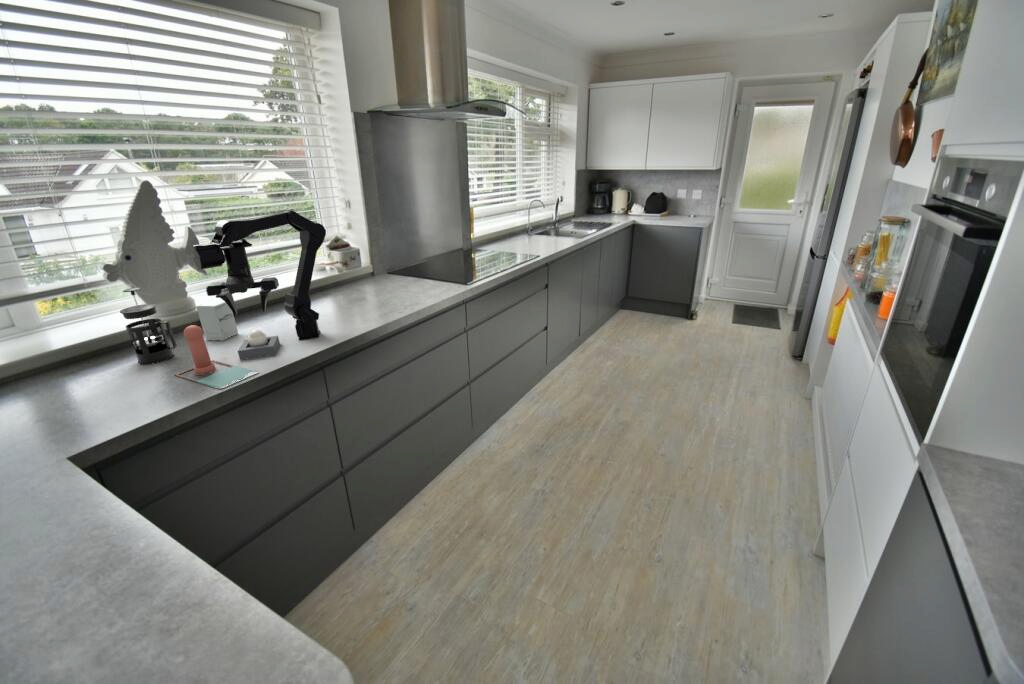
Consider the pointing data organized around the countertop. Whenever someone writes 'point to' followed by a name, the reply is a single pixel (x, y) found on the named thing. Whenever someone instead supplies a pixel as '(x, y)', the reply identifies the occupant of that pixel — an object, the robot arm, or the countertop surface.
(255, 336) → the cream white ball
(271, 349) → the box
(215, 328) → the supplement box
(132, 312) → the french press
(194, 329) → the pawn
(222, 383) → the tile
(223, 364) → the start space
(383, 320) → the countertop surface
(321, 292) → the countertop surface
